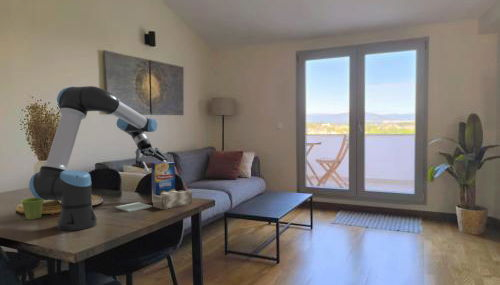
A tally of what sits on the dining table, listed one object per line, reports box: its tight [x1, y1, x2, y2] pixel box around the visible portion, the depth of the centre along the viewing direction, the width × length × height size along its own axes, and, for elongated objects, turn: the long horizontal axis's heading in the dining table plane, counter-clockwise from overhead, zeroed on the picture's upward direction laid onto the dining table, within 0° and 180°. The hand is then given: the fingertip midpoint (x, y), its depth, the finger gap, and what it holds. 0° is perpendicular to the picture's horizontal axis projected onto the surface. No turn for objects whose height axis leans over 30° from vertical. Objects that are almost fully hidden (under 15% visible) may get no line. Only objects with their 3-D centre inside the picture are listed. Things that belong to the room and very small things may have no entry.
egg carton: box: [152, 190, 193, 210], centre depth 191 cm, size 18×10×7 cm, turn 138°
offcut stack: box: [160, 190, 179, 196], centre depth 192 cm, size 12×5×6 cm, turn 138°
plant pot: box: [20, 197, 45, 220], centre depth 167 cm, size 9×9×9 cm
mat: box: [115, 201, 153, 213], centre depth 186 cm, size 13×13×1 cm
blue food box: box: [150, 161, 176, 203], centre depth 198 cm, size 7×11×22 cm, turn 123°
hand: (158, 171), depth 203 cm, fingers open, 13 cm apart
